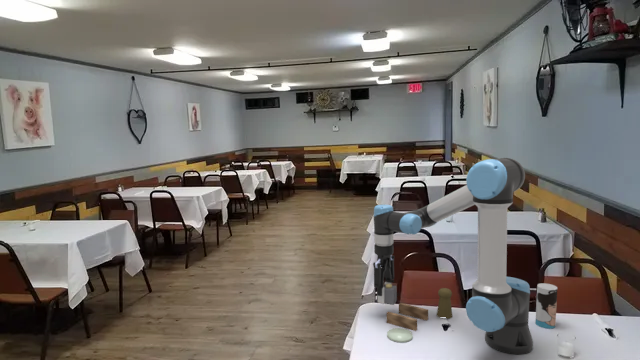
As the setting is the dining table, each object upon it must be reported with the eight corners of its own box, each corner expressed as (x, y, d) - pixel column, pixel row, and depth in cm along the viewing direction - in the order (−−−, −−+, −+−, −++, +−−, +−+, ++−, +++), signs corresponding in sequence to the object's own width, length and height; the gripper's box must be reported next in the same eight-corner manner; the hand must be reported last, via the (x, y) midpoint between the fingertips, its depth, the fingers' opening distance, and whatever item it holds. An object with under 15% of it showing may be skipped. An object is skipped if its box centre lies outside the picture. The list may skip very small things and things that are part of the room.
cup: (549, 330, 156) (552, 291, 155) (531, 323, 162) (533, 285, 160) (558, 325, 160) (560, 287, 159) (540, 319, 166) (542, 282, 164)
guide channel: (428, 319, 167) (428, 309, 166) (415, 331, 157) (415, 320, 157) (400, 311, 174) (400, 302, 173) (386, 322, 164) (386, 312, 164)
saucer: (416, 334, 154) (416, 332, 154) (406, 345, 147) (406, 342, 147) (394, 328, 160) (394, 325, 159) (382, 337, 152) (382, 335, 152)
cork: (453, 319, 166) (453, 292, 165) (437, 318, 168) (437, 291, 166) (451, 312, 172) (452, 286, 171) (436, 311, 174) (436, 285, 172)
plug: (396, 300, 171) (396, 283, 170) (393, 304, 166) (393, 287, 166) (384, 298, 173) (384, 282, 172) (381, 303, 168) (381, 286, 168)
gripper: (386, 238, 178) (387, 291, 180) (363, 247, 163) (364, 306, 165) (402, 240, 173) (403, 295, 176) (381, 250, 159) (382, 310, 161)
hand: (384, 300), depth 170 cm, fingers closed on plug, 5 cm apart
